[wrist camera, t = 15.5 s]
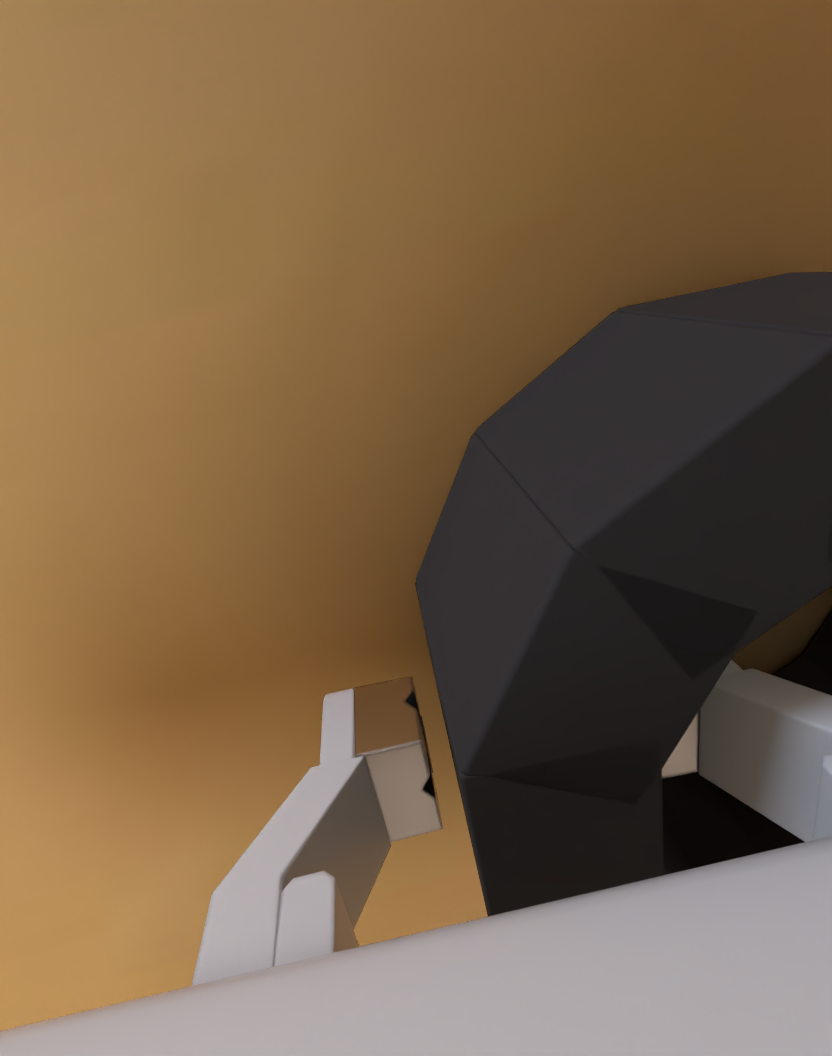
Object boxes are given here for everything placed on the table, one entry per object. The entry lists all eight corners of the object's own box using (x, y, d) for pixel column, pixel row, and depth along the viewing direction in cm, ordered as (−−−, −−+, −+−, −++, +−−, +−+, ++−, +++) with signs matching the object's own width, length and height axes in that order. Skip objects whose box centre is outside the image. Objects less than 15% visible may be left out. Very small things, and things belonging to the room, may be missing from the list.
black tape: (367, 359, 9) (386, 429, 5) (1029, 222, 10) (1593, 176, 5) (468, 838, 14) (525, 1095, 10) (919, 733, 14) (1175, 937, 10)
